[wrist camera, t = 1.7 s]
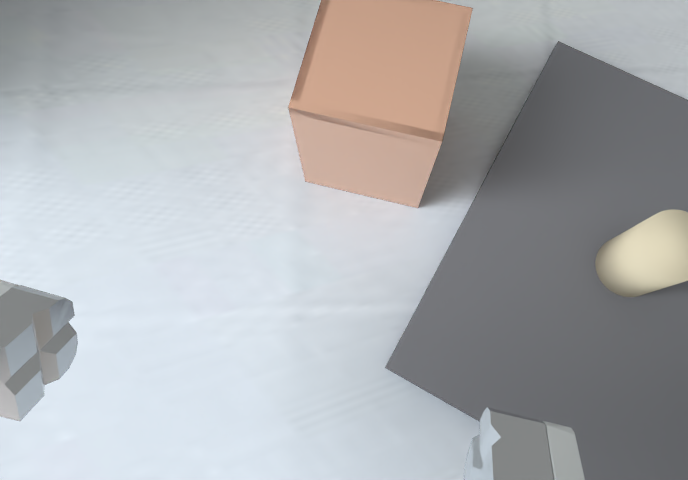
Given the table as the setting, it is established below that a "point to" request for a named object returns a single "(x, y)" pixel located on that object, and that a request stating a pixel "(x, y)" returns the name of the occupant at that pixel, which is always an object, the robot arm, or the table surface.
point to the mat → (573, 275)
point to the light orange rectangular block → (377, 94)
